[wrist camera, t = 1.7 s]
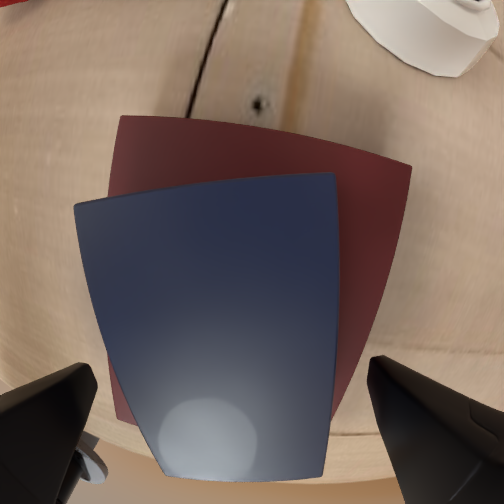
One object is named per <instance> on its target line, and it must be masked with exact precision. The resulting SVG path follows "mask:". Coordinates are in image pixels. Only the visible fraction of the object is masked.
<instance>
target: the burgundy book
mask: <svg viewBox="0 0 504 504" xmlns="http://www.w3.org/2000/svg"><path fill="white" fill-rule="evenodd" d="M411 171H412V166H410V165H408V164H405V163H402V162H399V161H396V160H393V159H390V158H387V157H383V156H380V155H377V154H374V153H370V152H367V151H363V150H360V149H356V148H353V147H349V146H345V145H341V144H338V143H334V142H330V141H325V140H321V139H317V138H313V137H308V136H303V135H299V134H294V133H289V132H284V131H278V130H273V129H267V128H261V127H255V126H249V125H242V124H235V123H227V122H219V121H210V120H201V119H190V118H177V117H160V116H127V115H122V116H121V117H120V121H119V126H118V131H117V136H116V141H115V147H114V153H113V159H112V166H111V173H110V181H109V189H108V197H111V196H116V195H122V194H127V193H133V192H139V191H145V190H151V189H158V188H164V187H171V186H178V185H185V184H193V183H201V182H209V181H218V180H227V179H237V178H247V177H259V176H271V175H285V174H302V173H322V172H332V173H335V175H336V183H337V198H338V218H339V251H340V296H339V329H338V348H337V363H336V376H335V387H334V398H333V407H332V415H331V420H332V418H333V416H334V414H335V412H336V410H337V408H338V406H339V404H340V402H341V400H342V398H343V396H344V393H345V391H346V389H347V387H348V385H349V382H350V380H351V378H352V376H353V373H354V371H355V369H356V366H357V364H358V362H359V359H360V357H361V354H362V352H363V349H364V347H365V344H366V341H367V339H368V336H369V333H370V331H371V328H372V325H373V322H374V320H375V317H376V314H377V311H378V308H379V305H380V302H381V299H382V296H383V292H384V289H385V286H386V283H387V279H388V276H389V272H390V269H391V265H392V262H393V258H394V254H395V250H396V246H397V242H398V238H399V234H400V229H401V225H402V220H403V216H404V211H405V206H406V201H407V195H408V190H409V184H410V178H411ZM107 355H108V353H107ZM108 364H109V372H110V380H111V387H112V393H113V400H114V405H115V411H116V416H117V419H118V420H121V421H124V422H127V423H130V424H133V425H136V426H138V425H137V423H136V421H135V419H134V416H133V414H132V412H131V410H130V408H129V406H128V403H127V401H126V399H125V397H124V394H123V392H122V389H121V387H120V385H119V382H118V380H117V377H116V375H115V372H114V369H113V367H112V364H111V361H110V359H109V356H108Z"/></svg>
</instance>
